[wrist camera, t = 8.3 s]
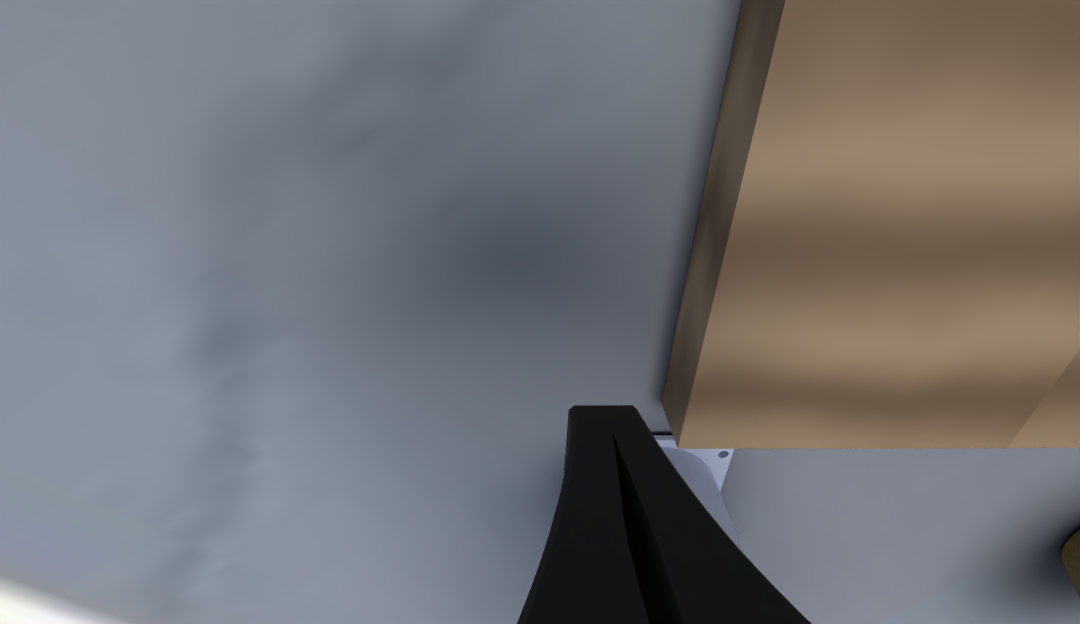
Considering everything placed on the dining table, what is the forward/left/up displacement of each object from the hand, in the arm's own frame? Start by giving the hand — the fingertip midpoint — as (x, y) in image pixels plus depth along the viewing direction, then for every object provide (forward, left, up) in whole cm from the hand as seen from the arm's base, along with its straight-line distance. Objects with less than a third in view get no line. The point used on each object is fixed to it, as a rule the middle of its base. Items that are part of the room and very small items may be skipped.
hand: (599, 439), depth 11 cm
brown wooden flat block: (+1, -16, -10) cm, 19 cm away
